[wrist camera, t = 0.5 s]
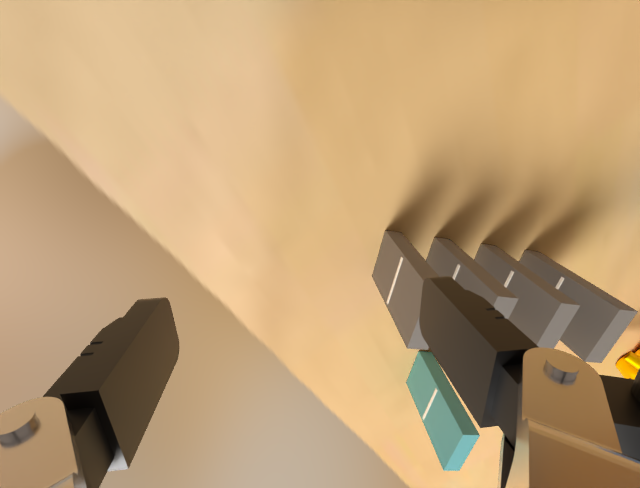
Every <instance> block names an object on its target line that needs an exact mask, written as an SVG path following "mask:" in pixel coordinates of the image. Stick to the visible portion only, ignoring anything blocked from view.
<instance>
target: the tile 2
mask: <svg viewBox="0 0 640 488" xmlns="http://www.w3.org/2000/svg"><path fill="white" fill-rule="evenodd" d="M426 262H427V263H428V264H429V265H430V266H431V267H432V269H433V270H434V271H435V272H436V273H437V274H438V276H439V277H444V276H450V277H452V278H453V279H454V280H455V281H456V282H457V283H458V284H459V285H460V286H462V287H463V288H464V289H465V290H469V291H471V292H473V293H475V294H477V295H479V296H481V297H483V298H485V299H486V300H487V301H488V302H489V303H490V304H491V305H492V306H494V307H495V310H498V311H499V312H500V313H501V314H503V315H504V316H505V319H509V317H510V315H511V313H512V311H513V309H514V307H515V305H516V303H517V301H518V299H519V298H518V297H516V296H515V295H514V294H513V293H512V292H511V291H509V290H508V289H507V288H506V287H505V286H504V285H502V284H501V283H500V282H499V281H498V280H497V279H495V278H494V277H493V276H492V275H491V274H490V273H488V272H487V271H486V270H485V269H484V268H483V267H481V266H480V265H479V264H478V263H477V262H476V261H474V260H473V259H472V258H471V257H470V256H469V255H467V254H466V253H465V252H464V251H463V250H462V249H460V248H459V247H458V246H457V245H456V244H455V243H453V242H452V241H451V240H450V239H444V238H437V237H434V240H433V243H432V245H431V248H430V251H429V254H428V257H427V259H426Z"/></svg>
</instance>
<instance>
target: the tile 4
mask: <svg viewBox="0 0 640 488" xmlns="http://www.w3.org/2000/svg"><path fill="white" fill-rule="evenodd" d="M519 263H521V264H522V265H524V266H525V267H527V268H528V269H529V270H531V271H532V272H534V273H535V274H537V275H538V276H539V277H541V278H542V279H544V280H545V281H546V282H548V283H549V284H551V285H552V286H554V287H555V288H556V289H558V290H559V291H561V292H562V293H564V294H565V295H566V296H568V297H569V298H571V299H572V300H574V301H575V302H576V303H578V304H579V305H580V307H579V309H578V310H577V312H576V314H575V315H574V317H573V318H572V320H571V322H570V323H569V325H568V326H567V328H566V330H565V331H564V333H563V335H562V336H561V338H560V339H559V340H561V341H562V342H563V343H564V344H565V345H566V346H567V347H569V348H570V349H571V350H572V351H573V352H574V353H575V354H576V355H578V356H579V357H580V358H581V359H582V360H583V361H584V362H597V363H602V361H603V360H604V358H605V357H606V356H607V354H608V353H609V351H610V350H611V349H612V347H613V346H614V344H615V343H616V342H617V340H618V339H619V337H620V336H621V335H622V333H623V332H624V330H625V329H626V328H627V326H628V325H629V323H630V322H631V321H632V319H633V318H634V316H635V315H636V314H637V312H638V311H636V310H634V309H633V308H631V307H629V306H628V305H626V304H624V303H623V302H621V301H619V300H618V299H616V298H614V297H613V296H611V295H610V294H608V293H606V292H605V291H603V290H601V289H600V288H598V287H596V286H595V285H593V284H591V283H590V282H588V281H586V280H585V279H583V278H581V277H580V276H578V275H576V274H575V273H573V272H572V271H570V270H568V269H567V268H565V267H563V266H562V265H560V264H558V263H557V262H555V261H553V260H552V259H550V258H548V257H547V256H545V255H543V254H542V253H540V252H537V251H530V250H525V251H524V253H523V255H522V257H521V259H520V261H519Z"/></svg>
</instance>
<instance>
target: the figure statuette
mask: <svg viewBox="0 0 640 488" xmlns="http://www.w3.org/2000/svg"><path fill="white" fill-rule="evenodd" d="M616 367H617V368H618V370H619V371H620V372H621V374H622V375H623V377H624V378H626V379H635V377H636V375H637V372H638V370H639V368H640V349H639V350H638V351H636V352H635V353H633V352H631V351H629V353H627V354H626V355H625V357H623V358H621V359H620V360H619V361H618V362H617V364H616Z"/></svg>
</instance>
